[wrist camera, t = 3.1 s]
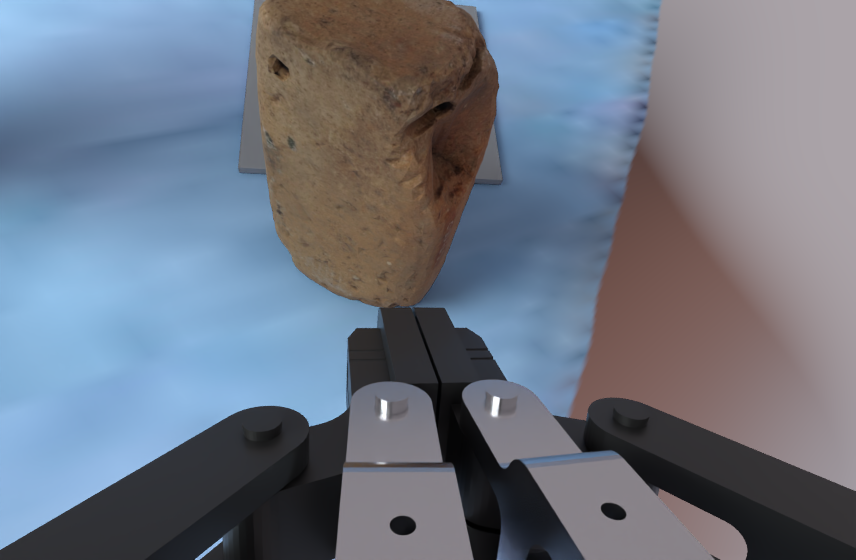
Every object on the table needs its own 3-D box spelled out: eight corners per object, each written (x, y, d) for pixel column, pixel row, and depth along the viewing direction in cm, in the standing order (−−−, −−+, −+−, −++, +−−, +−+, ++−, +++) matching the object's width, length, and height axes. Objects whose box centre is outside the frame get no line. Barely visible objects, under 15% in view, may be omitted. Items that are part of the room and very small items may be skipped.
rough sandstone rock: (267, 257, 38) (219, 0, 20) (331, 186, 41) (336, -87, 24) (401, 341, 37) (472, 146, 19) (454, 260, 40) (556, 32, 23)
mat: (239, 172, 41) (238, 167, 40) (257, -11, 49) (256, -17, 49) (500, 184, 44) (502, 179, 44) (474, 12, 53) (475, 6, 52)
